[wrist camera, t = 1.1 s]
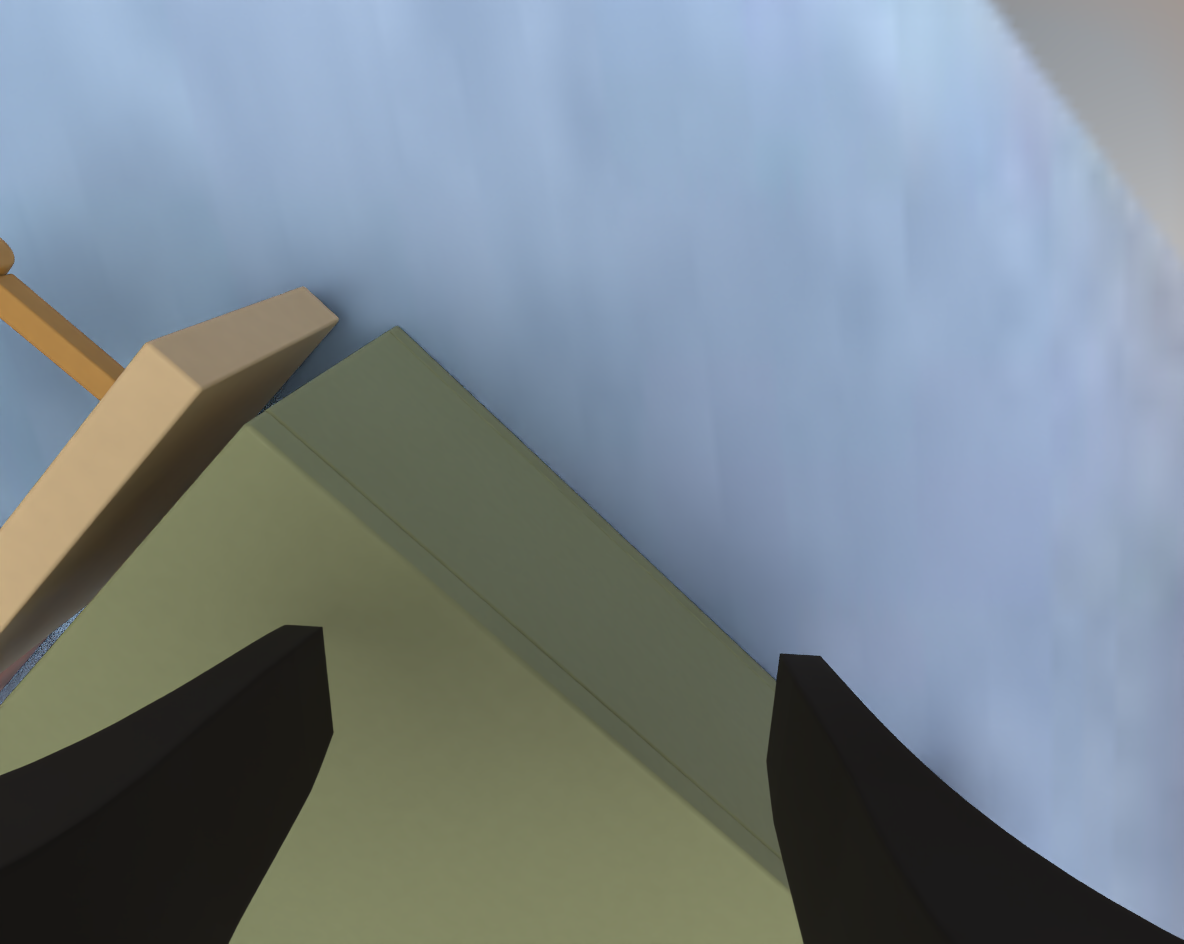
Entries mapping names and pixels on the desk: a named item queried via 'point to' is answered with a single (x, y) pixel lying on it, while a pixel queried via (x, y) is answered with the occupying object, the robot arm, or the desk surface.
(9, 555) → the drawer
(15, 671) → the block
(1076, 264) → the desk surface
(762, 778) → the cabinet
